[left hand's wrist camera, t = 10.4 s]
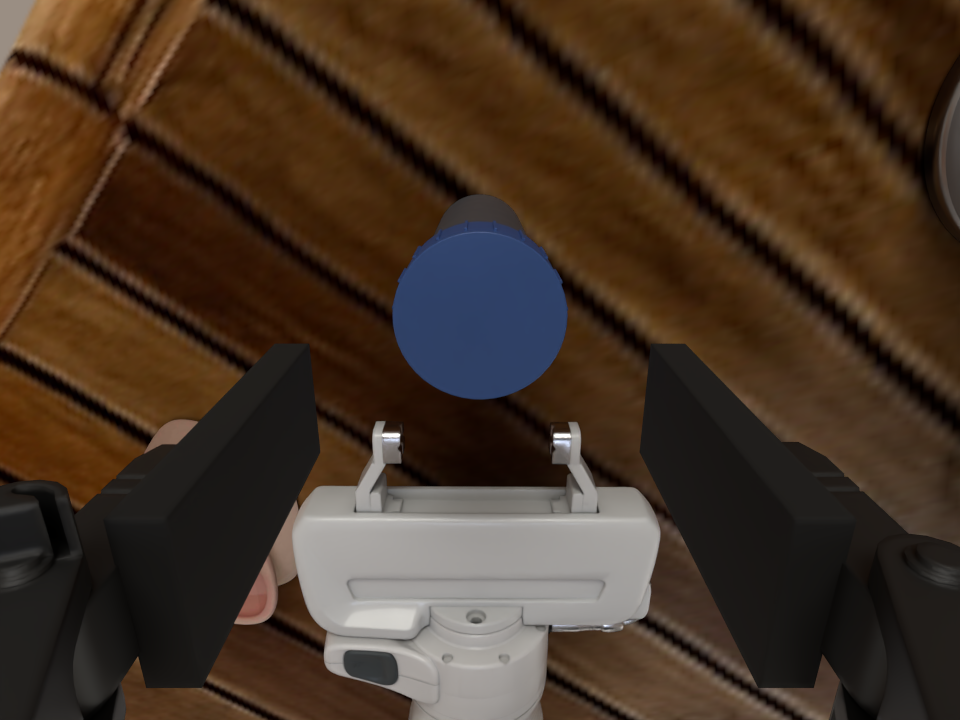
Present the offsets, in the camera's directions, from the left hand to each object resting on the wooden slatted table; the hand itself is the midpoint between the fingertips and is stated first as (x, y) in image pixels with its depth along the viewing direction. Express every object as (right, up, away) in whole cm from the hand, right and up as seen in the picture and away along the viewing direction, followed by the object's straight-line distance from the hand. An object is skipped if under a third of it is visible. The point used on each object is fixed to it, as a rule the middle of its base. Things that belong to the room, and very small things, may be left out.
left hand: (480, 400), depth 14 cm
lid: (0, +2, +6) cm, 7 cm away
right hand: (0, -3, +18) cm, 19 cm away
